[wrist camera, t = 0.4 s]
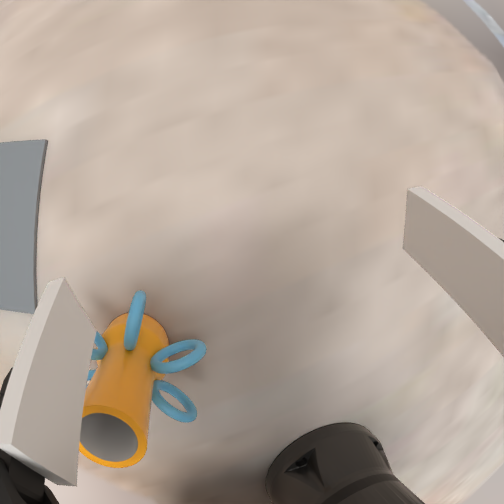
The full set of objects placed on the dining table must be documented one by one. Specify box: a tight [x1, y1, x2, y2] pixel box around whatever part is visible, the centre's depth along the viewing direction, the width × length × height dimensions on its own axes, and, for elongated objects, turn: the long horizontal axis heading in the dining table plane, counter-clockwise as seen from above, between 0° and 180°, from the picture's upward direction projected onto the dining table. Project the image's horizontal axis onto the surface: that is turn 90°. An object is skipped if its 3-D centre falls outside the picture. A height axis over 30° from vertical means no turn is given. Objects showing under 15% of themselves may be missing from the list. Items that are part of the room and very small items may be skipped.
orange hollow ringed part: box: [79, 290, 206, 468], centre depth 19 cm, size 12×10×15 cm
